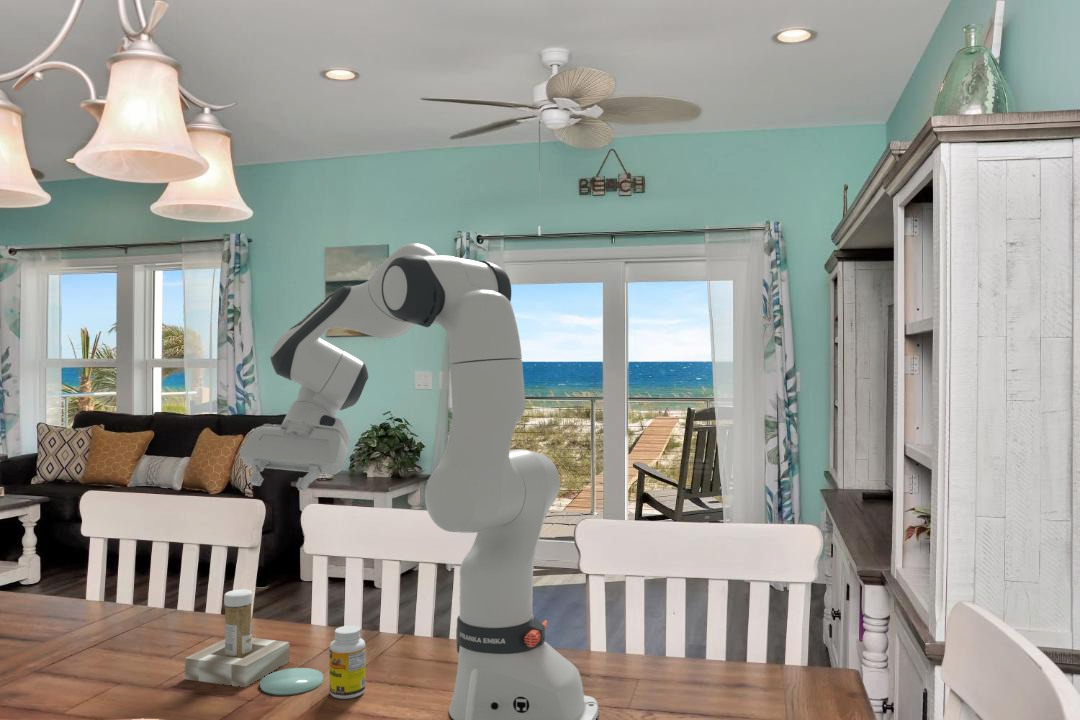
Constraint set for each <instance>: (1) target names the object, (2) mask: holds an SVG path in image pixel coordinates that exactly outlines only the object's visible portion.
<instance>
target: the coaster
mask: <svg viewBox="0 0 1080 720" xmlns="http://www.w3.org/2000/svg"><path fill="white" fill-rule="evenodd" d="M323 682H324V674H323V673H322V672H321V671H320V670H317V669H314V668H311V667H310V668H309V667H308V668H307V667H293V668H285V669H280V670H277V671H276V670H275V671H273V672H272V673H270V674H268V675H266V676H265V677H263V678H261V679H260V681H259V689H260V688H261V689H260V690H261V691H262V692H263V693H266V694H269V695H275V696H288V695H289V696H290V695H291V696H292V695H297V694H302V693H306V692H309V691H312V690H314V689H316V688H318V687H320V686H321V685H322V684H323Z"/></svg>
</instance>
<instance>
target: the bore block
mask: <svg viewBox="0 0 1080 720" xmlns="http://www.w3.org/2000/svg"><path fill="white" fill-rule="evenodd" d="M288 662H289V663H290V642H289V641H282V640H276V639H267V638H258V637H252V654H250V655H248V656H246V657H244V658H235V657H227V656H226V653H225V638H224V639H221V640H219V641H218V642H215V643H214V644H211V645H210V646H207V647H205V648H203V649H201V650H198V651H196V652H195V653H193V654H191V655H189V656H186V657H184V680H188V681H195V682H203V683H210V684H217V685H223V684H224V685H225V686H230V685H232V686H231V687H238V686H240V687H239V688H245V687H246V688H248V687H250V686H251V685H253V684H255V683H256V682H258V681H259V679H260V680H262V678H264V676H267V675H268V674H269V673H270V674H271V672H272V673H273V672H275V671H276V669H277V670H278V669H280V668H281V666H282V667H283V666H285V665H287V664H289V663H288ZM279 667H280V668H279ZM274 670H275V671H274ZM257 680H258V681H257ZM255 681H256V682H255ZM252 683H253V684H252ZM250 684H251V685H250ZM247 686H248V687H247Z"/></svg>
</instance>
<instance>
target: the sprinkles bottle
mask: <svg viewBox="0 0 1080 720" xmlns="http://www.w3.org/2000/svg"><path fill="white" fill-rule="evenodd" d="M223 596H224V597H223V603H224V609H225V610H224V611H225V612H224V613H225V615H224V617H225V618H224V620H225V623H224V639H225V653H226V656H227V657H235V658H244V657H246V656H248V655H250V654H252V638H253V623H252V605H253V591H252V590H250V589H243V588H242V589H234V590H229V591H227V592H225V594H224V595H223Z"/></svg>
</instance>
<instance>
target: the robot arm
mask: <svg viewBox="0 0 1080 720" xmlns="http://www.w3.org/2000/svg"><path fill="white" fill-rule="evenodd" d="M511 301H512V285H511V281H510V278H509V276H508V273H507V272H506V271H505V270H504V269H503V268H502V267H501V266H499V265H498V264H494V263H492V262H489V261H487V260H486V261H485V260H472V259H467V258H462V257H455V256H453V255H444V254H443V255H439V254H438V253H436V251H435V250H433V249H432V248H430V247H429V246H427V245H425V244H421V243H417V242H416V243H414V242H413V243H412V242H411V243H406V244H403V245H402V246H400V247H399V248H397V249H396V250H395V251H394V252H393V253H391V255H389V256H388V257H387V258H386V259H385V260H384V261H383V262H382V264H380V266H378V268H377V269H376V270H375V272H374V273H373V275H372V276H371V277H370V278H369V279H368V280H367V281H365V282H363V283H361V284H357V285H353V286H352V285H343V286H341V287H339V288H337V289H336V290H334V291H333V292H332V293H331V294H329V295H328V296H327V297H326V298H325V299H324V300H322V301H321V302H320V303H319V304H317V305H316V307H314V309H312V311H310V312H309V313H308V314H307V315H306V316H305V317H304V318H303V319H301V320H300V321H299V322H298V323H297V324H295V325H294V326H292V327H290V329H288V330H287V331H286V332H284V333H283V334H282V335H281V336H280V337H279V338H278V340H277V341H276V342H275V344H274V346H273V348H272V351H271V355H270V362H271V365H272V367H273V370H274V371H275V374H276V375H278V376H280V377H282V378H284V379H287V380H289V381H293V382H295V383H297V384H299V385H300V388H299V390H298V393H297V399H295V401H293V402H292V404H291V406H290V407H289V409H288V410H287V414H286V415H285V417H284V419H283V421H282V423H281V424H271V423H264V424H263V425H260V426H258V427H255V428H254V429H253V432H252V433H251V434H250V436H249V437H248V438H247V439H246V441H245V442H244V444H243V445H242V447H241V448H240V450H239V456H240V458H241V460H242V463H244V465H245V466H246V467H251V469H252V475H251V477H250V479H249V482H250V485H252V486H257V487H261V485H262V483H263V481H264V480H265V479H264V478H263V476H262V474H261V472H263V471H264V470H265V469H273V470H284V471H294V472H305V473H306V474H305V475H304V476H303V477H299V478H298V480H297V482H296V484H295V487H296V488H297V490H298V491H303V492H305V491H307V490H308V487H309V486H310V484H312V483H313V482H315V481H316V480H317V479H318V478H319V477H320V476H321V474H326V475H327V474H328V475H336V474H338V473H340V472H341V471H342V470H343V467H344V465H345V462H346V460H347V456H348V452H349V451H348V450H349V449H348V447H349V445H350V443H351V437H350V434H349V431H348V430H347V428H346V426H345V425H344V423H343V421H342V420H341V419H340V418H337V417H335V416H336V414H337V413H338V412H339V411H342V410H343V411H344V410H346V409H349V408H351V407H353V406H355V405H356V404H357V403H358V402H359V400H360V397H361V395H362V393H363V390H364V388H365V385H366V383H367V381H368V379H369V373H368V368H367V365H366V363H365V362H364V361H362V360H361V359H359V358H358V357H356V356H354V355H353V354H351V353H349V352H348V351H346V350H343V349H342V348H339V347H337V346H336V345H334V344H331V343H330V342H328V341H326V340H325V339H323V338H322V336H323V335H324V334H325V333H326V332H328V331H329V330H330V329H334V328H336V329H339V328H341V329H347V330H351V331H355V332H359V333H362V334H364V335H367V336H371V337H374V338H380V339H394V338H398V337H400V336H402V335H404V334H406V333H408V332H409V331H410V330H411V329H412V328H414V326H415V325H419V326H422V327H424V328H429V327H430V326H432V324H433V325H434V324H436V325H439V326H441V327H442V328H443V329H444V331H445V332H446V334H447V337H448V350H449V352H448V353H449V365H450V366H449V367H450V368H449V369H450V381H451V382H450V383H451V384H450V386H451V407H452V408H451V410H452V412H451V424H450V430H449V435H448V439H447V442H446V447H445V450H444V453H443V455H442V457H441V460H440V461H439V464H438V465H437V467H436V468H435V470H434V471H433V472H432V473H431V474H430V476H429V477H428V479H427V482H426V484H425V488H424V490H425V491H424V502H425V503H424V504H425V506H426V510H427V512H428V515H429V517H430V518H431V520H432V522H433V523H434V524H435V525H436V526H437V527H439V528H440V529H442V530H444V531H446V532H452V533H461V534H462V533H464V534H465V533H466V534H467V533H468V534H469V533H472V534H474V533H476V536H475V539H474V542H473V543H472V546H471V548H470V549H469V551H468V552H467V554H466V555H465V556H464V558H463V560H462V562H461V564H460V567H459V615H458V617H457V619H456V630H455V631H456V633H455V641H456V652H457V654H458V657H457V668H456V676H455V683H454V688H453V693H452V699H451V702H450V703H449V704H450V705H449V708H448V714H449V715H450V717H451V719H453V720H596V718H597V719H598V717H599V712H598V711H599V703H598V702H597V700H596V699H595V698H594V696H590V695H585V693H584V689H583V688H584V687H583V681H582V677H581V674H580V672H579V670H578V668H577V667H576V666H575V664H573V663H572V662H570V661H569V660H568V659H566V658H565V657H564V656H563V655H562V654H561V653H560V652H558V651H557V650H555V649H554V648H553V646H551V645H550V644H549V643H548V642H546V629H547V628H548V625H547V624H548V620H547V619H545V620H543V622H541V621H540V620H539V619H538V618H537V617H536V616H535V614H533V595H534V594H533V589H534V587H533V585H534V584H533V581H534V564H535V557H536V553H537V549H538V548H537V547H538V544H539V541H540V537H541V534H542V533H541V532H542V530H543V526H544V522H545V519H546V517H547V514H548V512H549V510H550V508H551V507H552V505H553V504H554V502H555V501H556V500H557V497H558V495H559V493H560V487H561V480H560V479H561V478H560V473H559V470H558V469H557V466H556V465H555V463H554V461H553V460H552V459H551V458H549V456H547V455H545V454H543V453H541V452H537V451H532V450H527V449H520V448H519V449H518V448H517V449H511V444H512V439H513V435H514V431H515V430H516V429H515V428H516V426H517V424H518V422H519V421H520V420H521V419H522V417H523V416H524V413H525V410H526V404H527V403H526V396H525V395H526V394H525V378H524V368H523V366H524V365H523V358H522V356H523V355H522V348H521V341H520V339H521V338H520V335H519V329H518V325H517V321H516V316H515V312H514V310H513V306H512V304H511ZM430 328H431V327H430ZM510 449H511V450H510ZM597 716H598V717H597Z"/></svg>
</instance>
